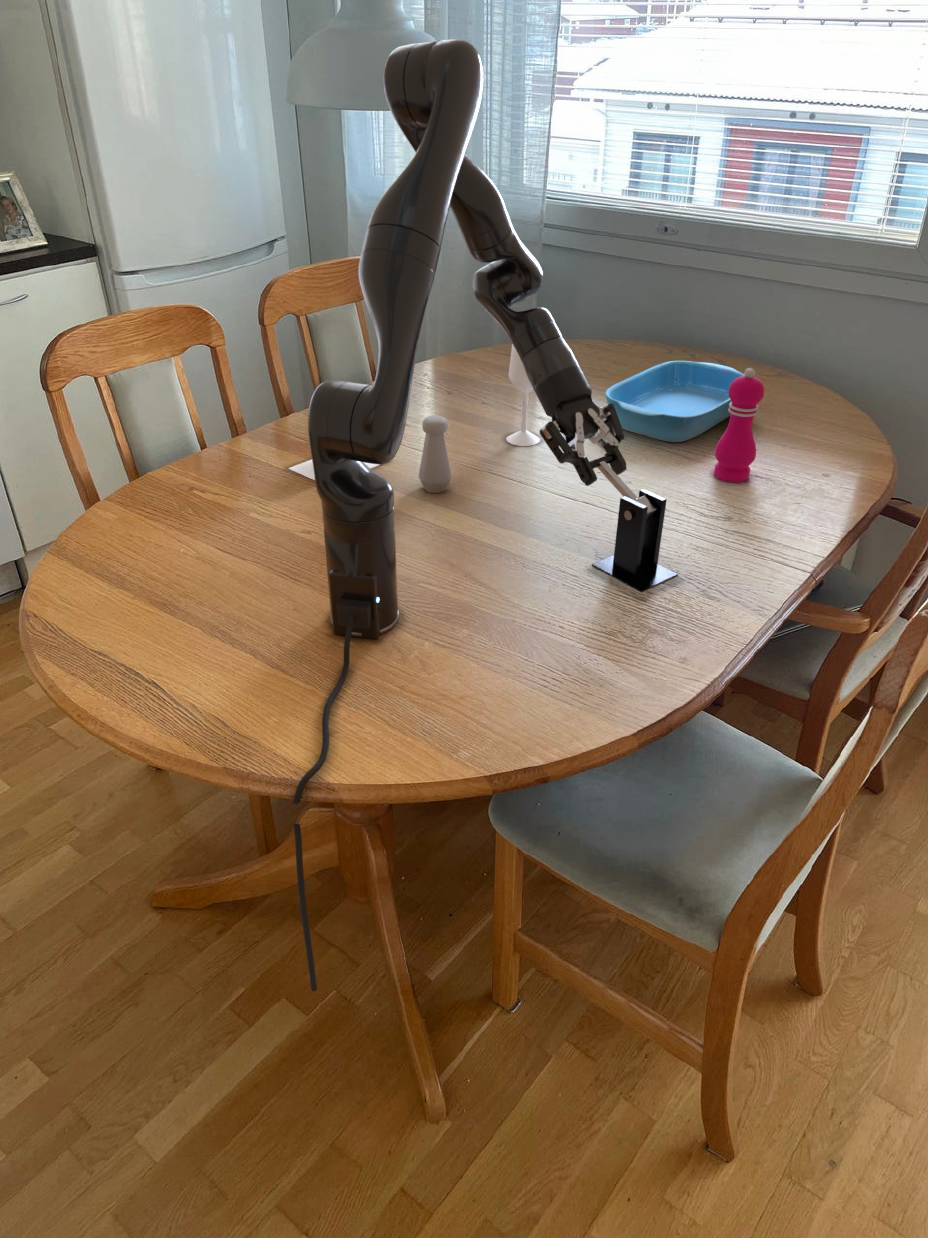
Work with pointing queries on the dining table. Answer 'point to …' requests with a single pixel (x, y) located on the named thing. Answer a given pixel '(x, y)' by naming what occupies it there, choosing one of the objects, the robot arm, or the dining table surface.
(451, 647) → the dining table surface
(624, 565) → the black lever stand
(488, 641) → the dining table surface
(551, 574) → the dining table surface
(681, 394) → the casserole dish
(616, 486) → the lever with crossbar handle
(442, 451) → the salt shaker
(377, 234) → the robot arm
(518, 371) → the champagne flute
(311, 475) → the napkin holder
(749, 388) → the pepper mill
